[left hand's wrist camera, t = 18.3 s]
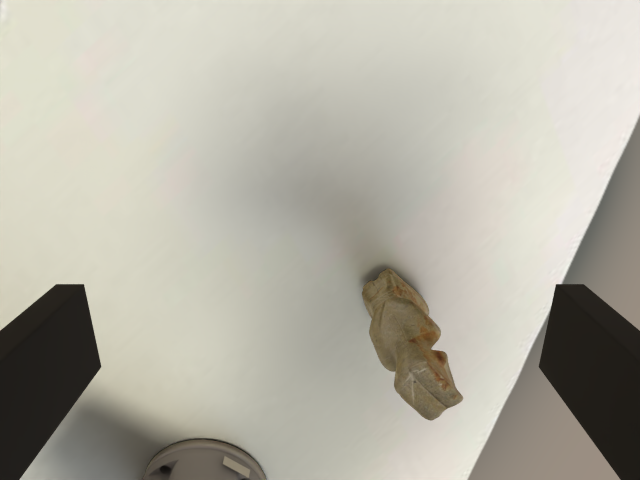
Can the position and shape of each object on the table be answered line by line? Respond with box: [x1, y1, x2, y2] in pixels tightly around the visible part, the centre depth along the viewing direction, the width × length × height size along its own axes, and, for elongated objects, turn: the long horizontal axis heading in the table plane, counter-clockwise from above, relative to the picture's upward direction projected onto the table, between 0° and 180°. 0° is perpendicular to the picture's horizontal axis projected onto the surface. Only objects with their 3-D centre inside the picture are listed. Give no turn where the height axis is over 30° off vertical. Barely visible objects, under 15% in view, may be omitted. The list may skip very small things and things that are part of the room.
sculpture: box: [362, 269, 463, 420], centre depth 40 cm, size 6×7×15 cm
